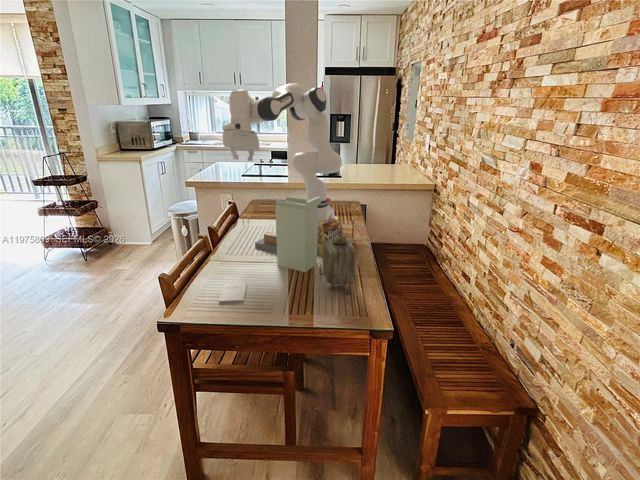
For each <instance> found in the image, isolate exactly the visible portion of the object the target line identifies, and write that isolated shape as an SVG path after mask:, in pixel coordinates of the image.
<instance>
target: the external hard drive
mask: <svg viewBox="0 0 640 480" xmlns="http://www.w3.org/2000/svg"><path fill="white" fill-rule="evenodd" d="M247 287H248V283H245V282H244V283H243V282H242V283H239V282H238V283H225V284H224V285H223V288H222V291H221V294H220V297H219V300H218V304H238V303H239V304H240V303H241V304H242V303H244V302H245V299H246V298H245V296H246V293H247Z"/></svg>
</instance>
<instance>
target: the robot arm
mask: <svg viewBox="0 0 640 480" xmlns="http://www.w3.org/2000/svg"><path fill="white" fill-rule="evenodd" d="M228 103H229V112H230V119H229V120H230V123H228V124H224V125H222V131H223V132H222V145H223V146H224V148H226V149H230V153H231V154H232V158H233V160H235V161H236V160H239V159H240V158H239V155H238V154H237V150H239V151H244V152H245V151H247V152H248V156H247V161H248V162H252V161H253V159H254V158H253V157H254V155H255V152H259V151H260V141H259V136H258V134H257V132H256V131H255V130H252V125H256V124H261V123H265V122H266V123H267V122H271V121H276V120H277V119H278V118H279V116H280V114H281V113H282V112H283V111H285V110H289V112H290V115H291V116H292V118H293V119H294V120H296V121H304V120H306V119H307V118H308V125H307V127H308V128H307V145H308V147H310V148H311V149H312V150H314V151H300V152H296V153H295V154H294V155H293V156H292V160H291V165H292V168H293V169H294V171H296V172H297V174H299V176H301V178H302V179H303V181H304V184H305V193H306V196H305V197H306V198H305V199H310V200H311V199H313V198H315V197H317V196H318V197H321V204H320V205H318V206H317V229H318V221H323V220H328V219H333V218H334V219H337V220H339V217H338V216H336V215H335V210H334V208H332V206H330V205H329V202H331V198H330V197H328V184H327V183H326V181H324V180H322V179H321V178H318V176H316V174H334V173H338V172H339V171H340V170H341V168H342V166H343V160H342V157H341V155H340V154H339V153H338V152H336V151H335V150H334V149H333V148H332V147H331V145H330V140H329V120H328V116H327V114H326V113H325V112H324V111H325V110H326V109H327V95H326V93H325V91H324V90H323V89H322V88H321V87H317V86H316V87H313V88H311V89H309V90H308V91H306V92H304V90H303V88H302V86H301V85H300V84H299V83H295V82H291V83H287V84H283V85H281V86H279V87H277V88H276V89H275V90H274V91H272V93H271V96H266V97H263V98H260V99H256V100H255V99H253V98H252V96H250V95H249V92H248V90H246V89H236V90H233V91H232V92H230V95H229V102H228Z"/></svg>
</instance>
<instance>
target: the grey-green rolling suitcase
mask: <svg viewBox="0 0 640 480" xmlns="http://www.w3.org/2000/svg"><path fill="white" fill-rule="evenodd" d="M339 228H340V229H339ZM337 229H338V235H335V236H334V238H333V239H328V240H326V241H324V242H323V256H322V270H323V271H322V272H323V274H324V279H325V280H326V282H327V283H328V284H329V288H330V289H333V288H335V286H337V285H342V286H343V287H344V289H345V294H346V295H349V294H350V292H351V291H350V290H349V289H348V288H347V285H353V284H354V283H355V271H356V252H355V247H354V244H353V243H352V241H351V240H350V238H348V237H346V236H344V235H343V226H342V223H341V222H340V221H339V222H338V224H337Z"/></svg>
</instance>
